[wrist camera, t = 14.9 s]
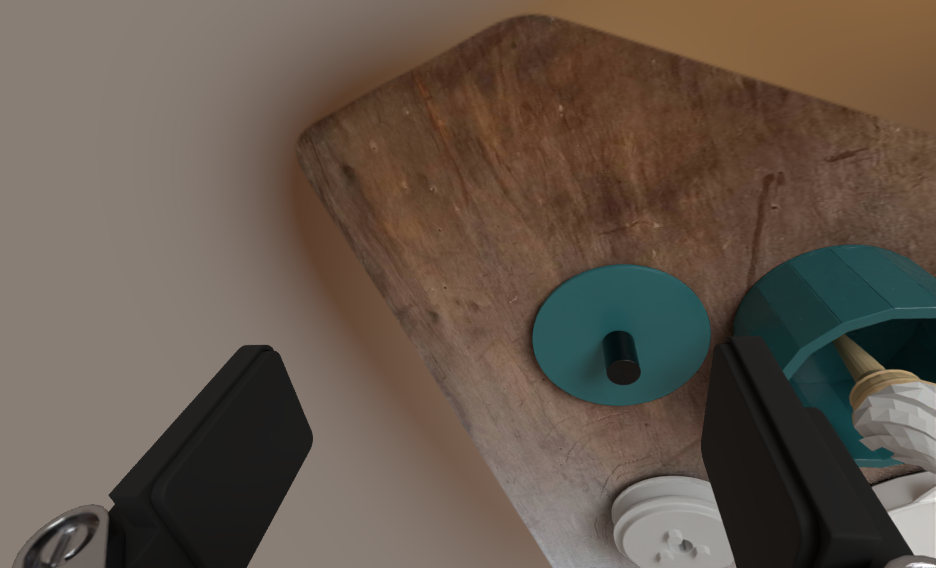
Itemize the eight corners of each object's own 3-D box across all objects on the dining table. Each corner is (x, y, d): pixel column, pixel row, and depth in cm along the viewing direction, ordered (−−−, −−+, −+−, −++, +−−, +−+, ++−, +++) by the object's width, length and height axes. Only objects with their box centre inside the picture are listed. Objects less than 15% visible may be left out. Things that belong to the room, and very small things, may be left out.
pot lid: (526, 264, 40) (523, 296, 36) (717, 256, 37) (738, 290, 33) (538, 396, 48) (535, 437, 43) (698, 398, 45) (713, 441, 40)
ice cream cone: (787, 356, 40) (893, 522, 28) (789, 300, 38) (907, 454, 25) (866, 348, 39) (1016, 520, 26) (873, 289, 36) (1044, 447, 24)
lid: (749, 534, 53) (766, 581, 48) (633, 550, 57) (639, 595, 53) (717, 456, 48) (732, 501, 43) (593, 481, 52) (596, 524, 48)
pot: (706, 250, 37) (742, 311, 30) (1003, 237, 34) (1126, 303, 26) (690, 385, 44) (716, 462, 37) (937, 387, 40) (1020, 473, 33)
